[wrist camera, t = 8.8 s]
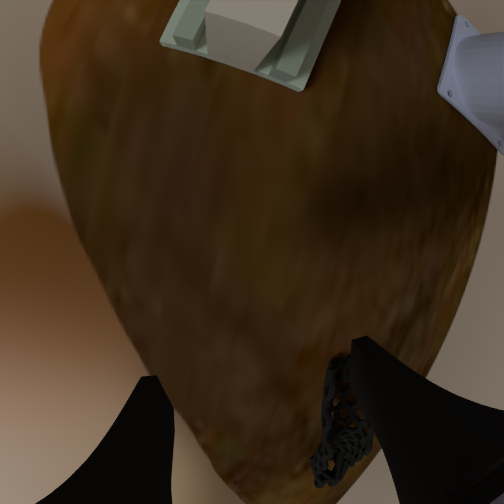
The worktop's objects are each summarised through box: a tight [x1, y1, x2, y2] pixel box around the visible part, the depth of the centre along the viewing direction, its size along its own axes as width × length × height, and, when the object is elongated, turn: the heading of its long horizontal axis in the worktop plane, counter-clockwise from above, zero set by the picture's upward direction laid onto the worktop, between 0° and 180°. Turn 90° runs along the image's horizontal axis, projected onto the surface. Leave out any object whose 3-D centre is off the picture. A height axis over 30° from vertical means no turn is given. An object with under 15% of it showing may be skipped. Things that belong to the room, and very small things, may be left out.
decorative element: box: [310, 355, 374, 488], centre depth 26 cm, size 22×5×6 cm, turn 6°
